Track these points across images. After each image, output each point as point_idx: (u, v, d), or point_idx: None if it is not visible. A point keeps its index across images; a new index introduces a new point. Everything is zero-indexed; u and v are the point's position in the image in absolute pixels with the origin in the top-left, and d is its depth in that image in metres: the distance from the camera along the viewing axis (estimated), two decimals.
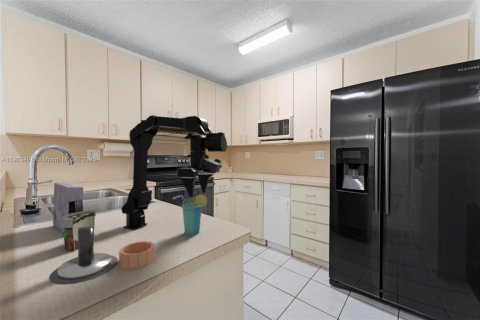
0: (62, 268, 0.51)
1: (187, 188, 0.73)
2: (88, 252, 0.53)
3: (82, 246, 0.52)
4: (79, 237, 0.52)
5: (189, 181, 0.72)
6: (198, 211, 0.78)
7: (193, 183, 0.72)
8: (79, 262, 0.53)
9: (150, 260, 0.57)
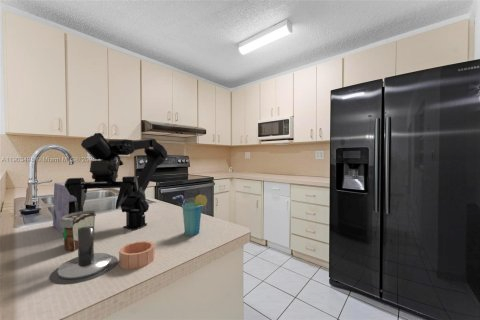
0: (62, 268, 0.51)
1: None
2: (88, 252, 0.53)
3: (82, 246, 0.52)
4: (79, 237, 0.52)
5: None
6: (198, 211, 0.78)
7: (77, 193, 0.61)
8: (79, 262, 0.53)
9: (150, 260, 0.57)
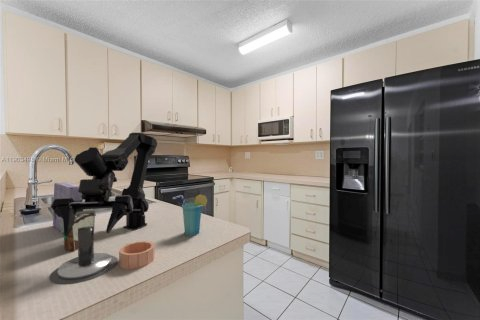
0: (62, 268, 0.51)
1: None
2: (88, 252, 0.53)
3: (82, 246, 0.52)
4: (79, 237, 0.52)
5: None
6: (198, 211, 0.78)
7: (64, 215, 0.55)
8: (79, 262, 0.53)
9: (150, 260, 0.57)
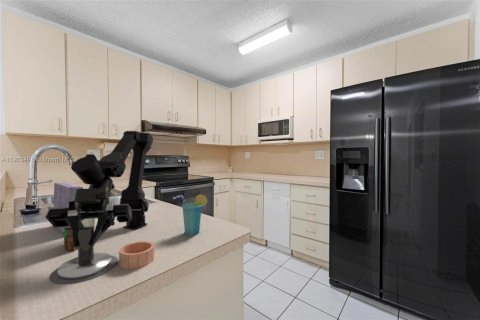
0: (62, 268, 0.51)
1: None
2: (88, 252, 0.53)
3: (82, 246, 0.52)
4: (79, 237, 0.52)
5: None
6: (198, 211, 0.78)
7: (73, 225, 0.54)
8: (79, 262, 0.53)
9: (150, 260, 0.57)
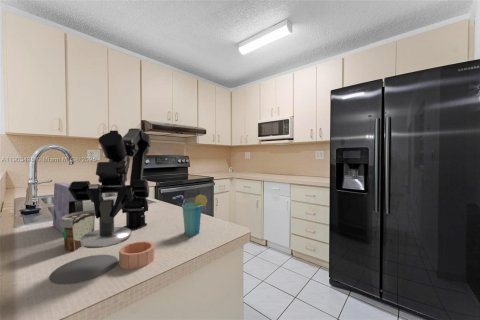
0: (84, 238, 0.53)
1: None
2: (108, 223, 0.54)
3: (103, 217, 0.54)
4: (100, 208, 0.54)
5: None
6: (198, 211, 0.78)
7: (95, 198, 0.55)
8: (100, 233, 0.54)
9: (150, 260, 0.57)
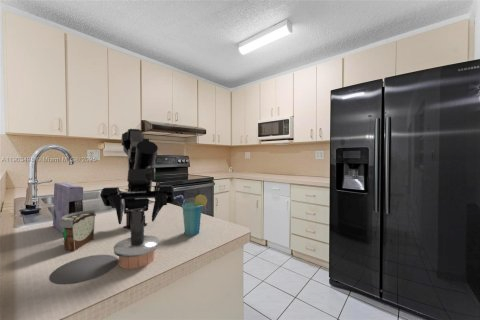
0: (117, 247, 0.55)
1: None
2: (140, 232, 0.57)
3: (135, 226, 0.56)
4: (132, 218, 0.56)
5: None
6: (198, 211, 0.78)
7: (116, 204, 0.57)
8: (132, 242, 0.56)
9: (150, 260, 0.57)
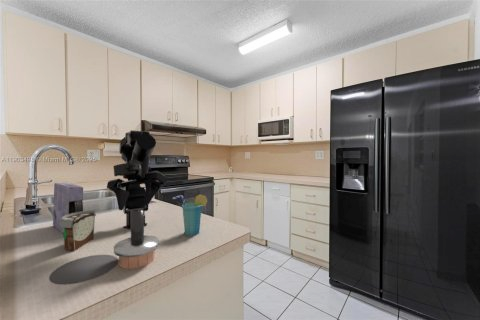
0: (117, 247, 0.55)
1: None
2: (140, 232, 0.57)
3: (135, 226, 0.56)
4: (132, 218, 0.56)
5: None
6: (198, 211, 0.78)
7: (116, 194, 0.68)
8: (132, 242, 0.56)
9: (150, 260, 0.57)
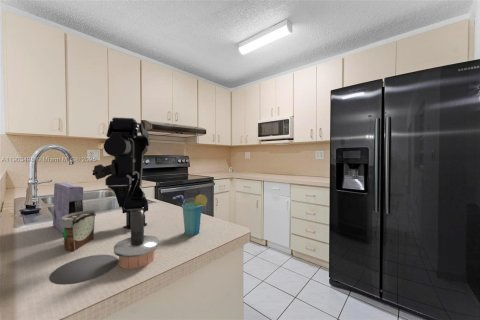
0: (117, 247, 0.55)
1: None
2: (140, 232, 0.57)
3: (135, 226, 0.56)
4: (132, 218, 0.56)
5: None
6: (198, 211, 0.78)
7: None
8: (132, 242, 0.56)
9: (150, 260, 0.57)
